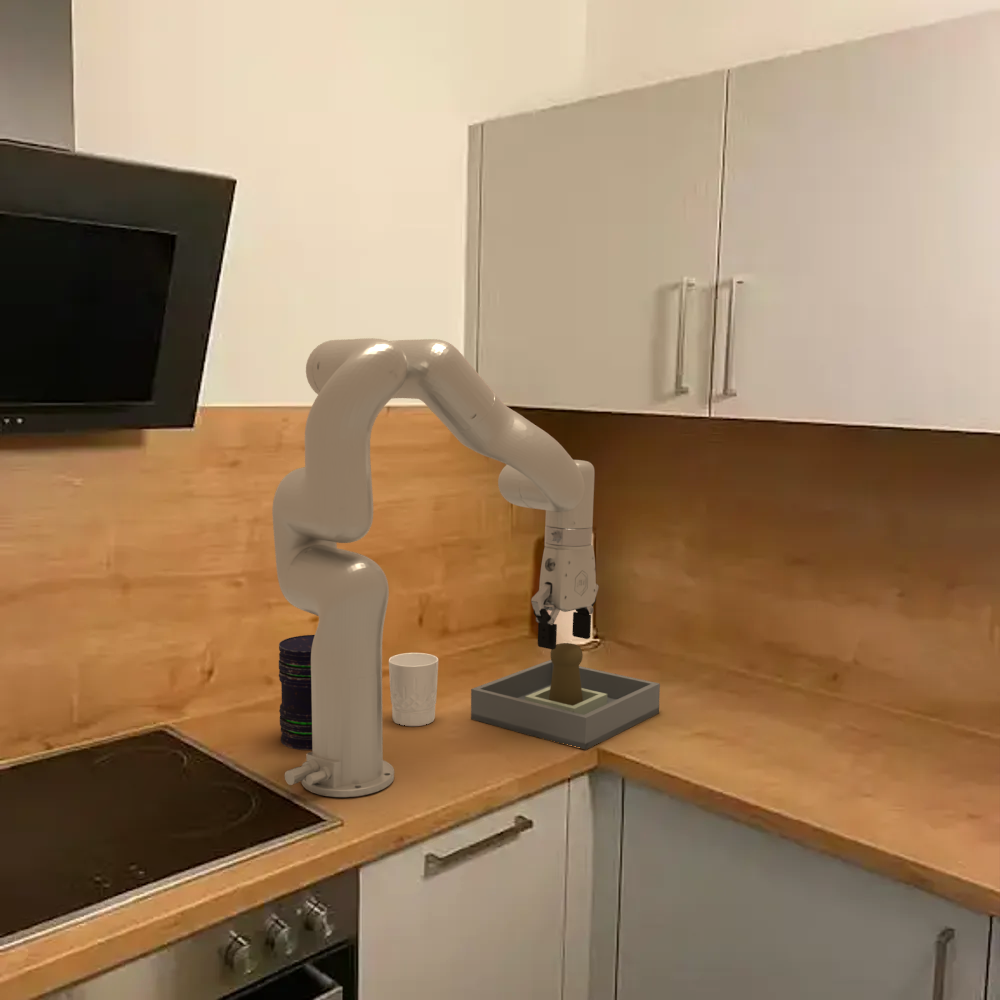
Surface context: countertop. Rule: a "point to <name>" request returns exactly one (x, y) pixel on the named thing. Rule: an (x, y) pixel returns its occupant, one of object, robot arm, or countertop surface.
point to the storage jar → (296, 692)
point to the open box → (565, 705)
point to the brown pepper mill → (566, 674)
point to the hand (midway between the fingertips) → (564, 642)
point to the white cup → (413, 688)
